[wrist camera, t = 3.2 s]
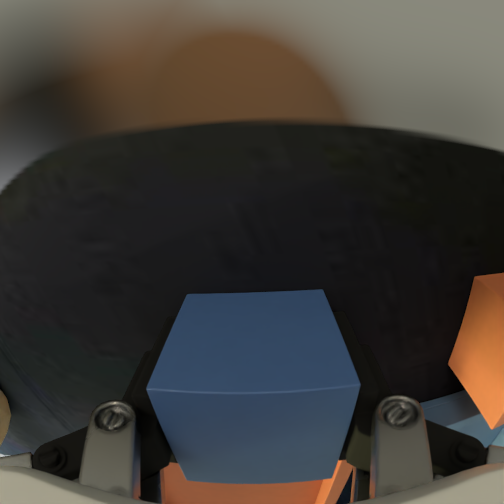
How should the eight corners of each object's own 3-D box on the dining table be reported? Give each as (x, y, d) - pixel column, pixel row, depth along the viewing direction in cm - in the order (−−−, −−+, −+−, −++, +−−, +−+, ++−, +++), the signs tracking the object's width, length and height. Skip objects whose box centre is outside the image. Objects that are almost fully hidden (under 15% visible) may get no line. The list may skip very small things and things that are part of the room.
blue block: (186, 293, 10) (145, 388, 6) (322, 288, 10) (361, 384, 5) (204, 388, 11) (186, 480, 7) (314, 386, 11) (332, 478, 7)
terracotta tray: (98, 410, 12) (85, 437, 10) (352, 416, 12) (362, 448, 10) (167, 509, 17) (163, 527, 15) (317, 513, 17) (320, 531, 15)
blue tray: (398, 407, 12) (410, 437, 10) (543, 356, 11) (558, 372, 10) (345, 508, 17) (349, 527, 15) (466, 471, 16) (472, 485, 14)
